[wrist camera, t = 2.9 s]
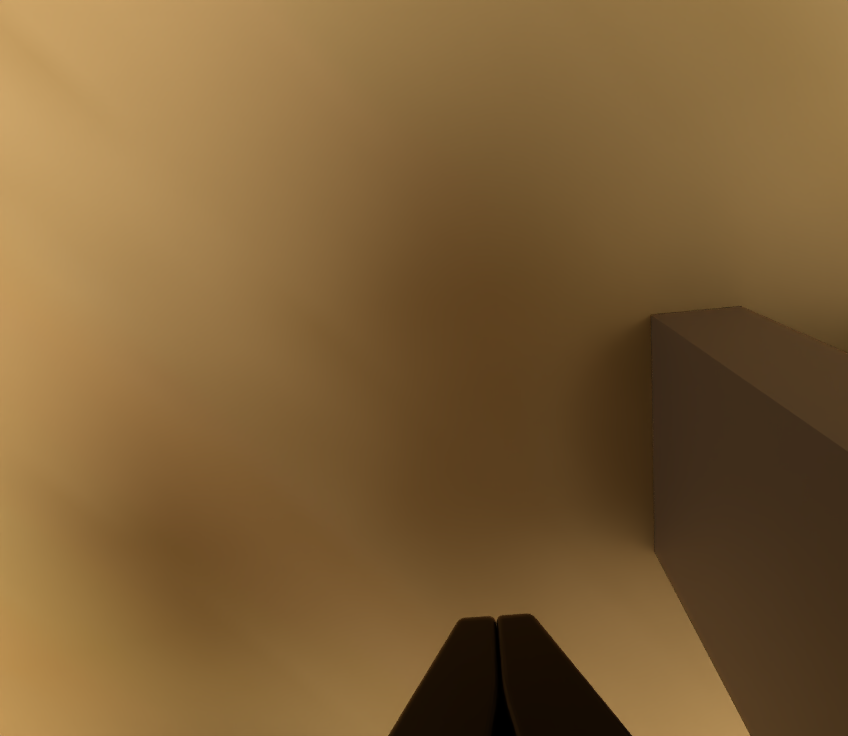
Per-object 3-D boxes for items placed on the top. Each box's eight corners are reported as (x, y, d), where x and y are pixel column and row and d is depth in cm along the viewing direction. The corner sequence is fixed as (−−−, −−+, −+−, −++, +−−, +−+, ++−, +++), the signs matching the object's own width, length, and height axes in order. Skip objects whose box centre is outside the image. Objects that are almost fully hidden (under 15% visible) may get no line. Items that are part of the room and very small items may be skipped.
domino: (734, 546, 13) (1133, 1077, 5) (654, 552, 13) (930, 1078, 5) (740, 306, 12) (1293, 549, 4) (650, 314, 12) (1014, 566, 4)
